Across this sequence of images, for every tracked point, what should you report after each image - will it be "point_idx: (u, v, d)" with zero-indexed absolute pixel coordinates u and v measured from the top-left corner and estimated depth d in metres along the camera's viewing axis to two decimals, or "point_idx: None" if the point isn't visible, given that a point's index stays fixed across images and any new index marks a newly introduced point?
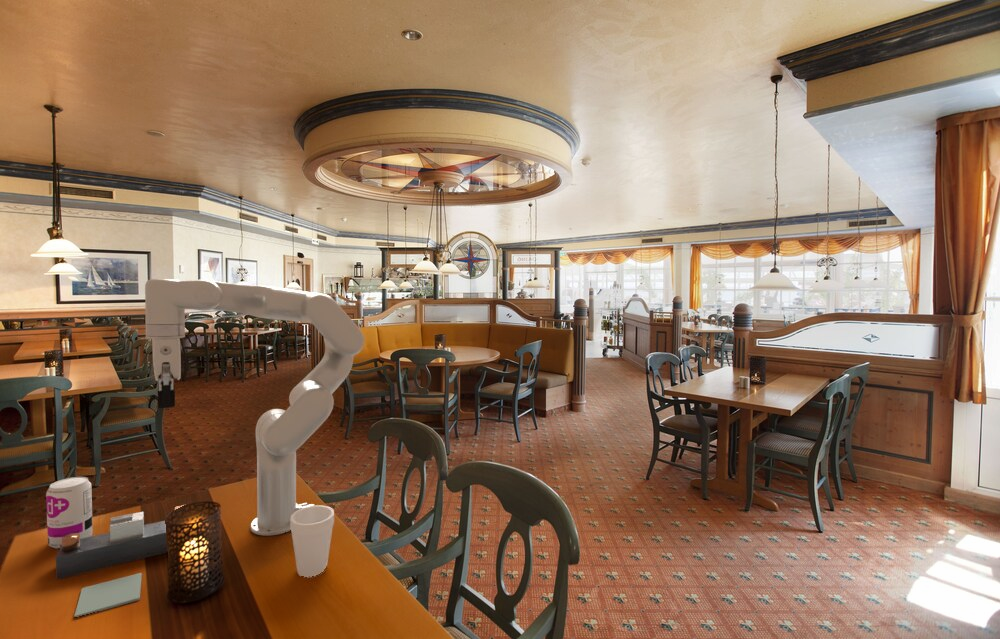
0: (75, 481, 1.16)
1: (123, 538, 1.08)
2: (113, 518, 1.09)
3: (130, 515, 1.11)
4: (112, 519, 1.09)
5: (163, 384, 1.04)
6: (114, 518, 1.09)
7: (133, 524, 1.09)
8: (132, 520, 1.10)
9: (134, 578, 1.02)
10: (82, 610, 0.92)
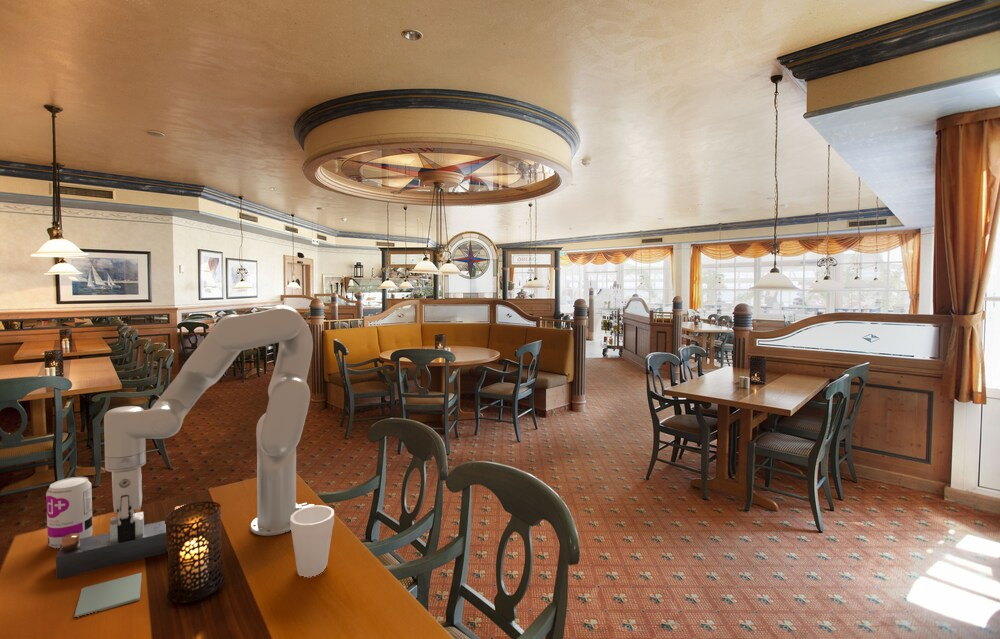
0: (75, 481, 1.16)
1: None
2: (113, 518, 1.09)
3: (130, 515, 1.11)
4: (112, 519, 1.09)
5: (122, 520, 1.06)
6: (114, 518, 1.09)
7: None
8: None
9: (134, 578, 1.02)
10: (82, 610, 0.92)
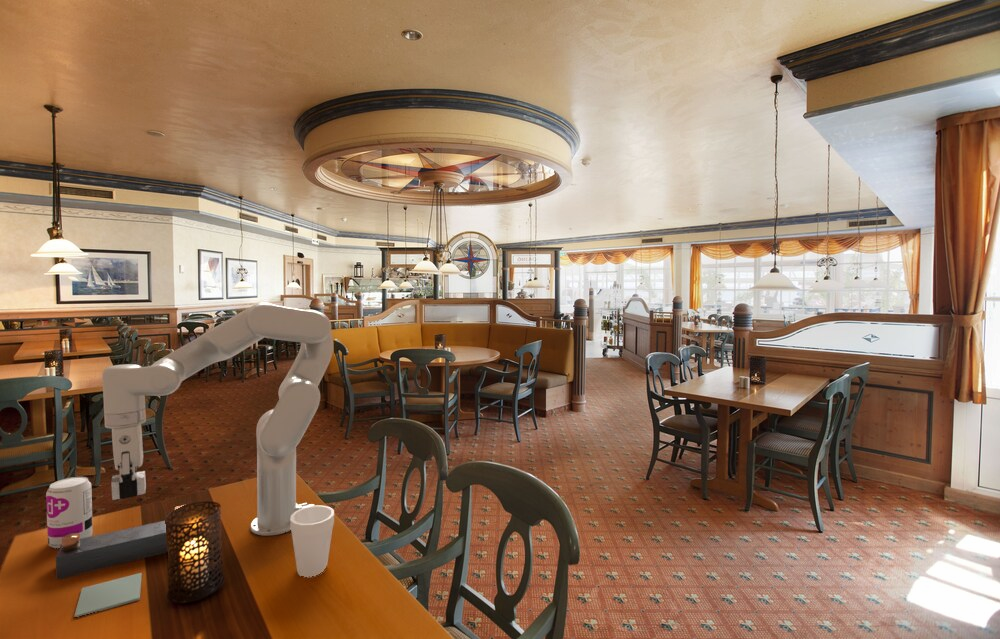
0: (75, 481, 1.16)
1: None
2: (114, 476, 1.09)
3: None
4: (113, 477, 1.08)
5: (123, 477, 1.05)
6: (115, 476, 1.08)
7: None
8: None
9: (134, 578, 1.02)
10: (82, 610, 0.92)
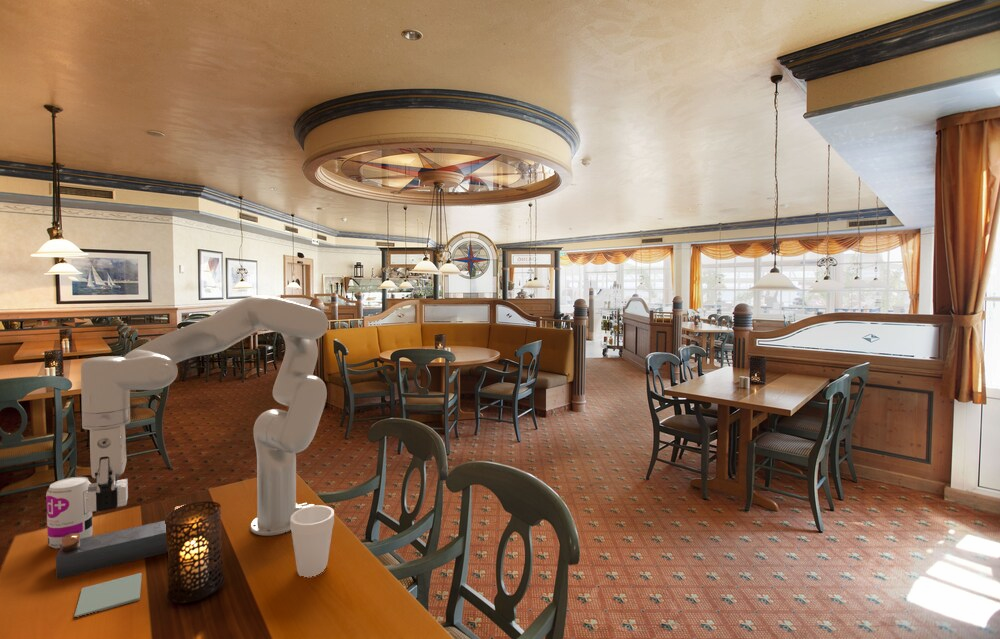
0: (75, 481, 1.16)
1: None
2: (91, 484, 0.94)
3: None
4: (90, 485, 0.94)
5: (101, 486, 0.91)
6: (92, 485, 0.94)
7: None
8: None
9: (134, 578, 1.02)
10: (82, 610, 0.92)
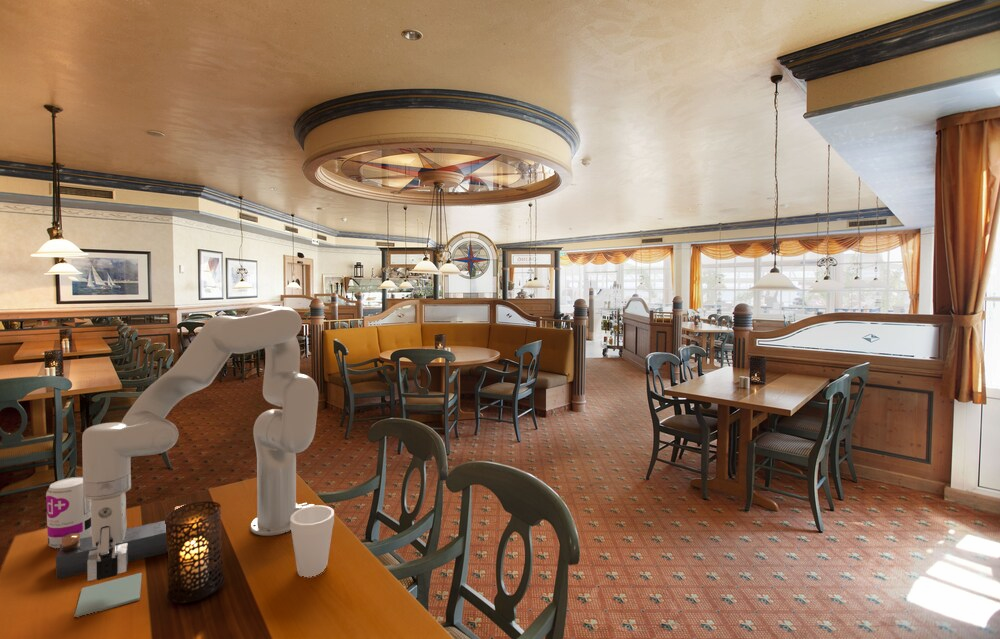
0: (75, 481, 1.16)
1: None
2: (91, 552, 0.95)
3: (111, 548, 0.96)
4: (90, 553, 0.94)
5: (102, 556, 0.91)
6: (92, 552, 0.95)
7: None
8: None
9: (134, 578, 1.02)
10: (82, 610, 0.92)
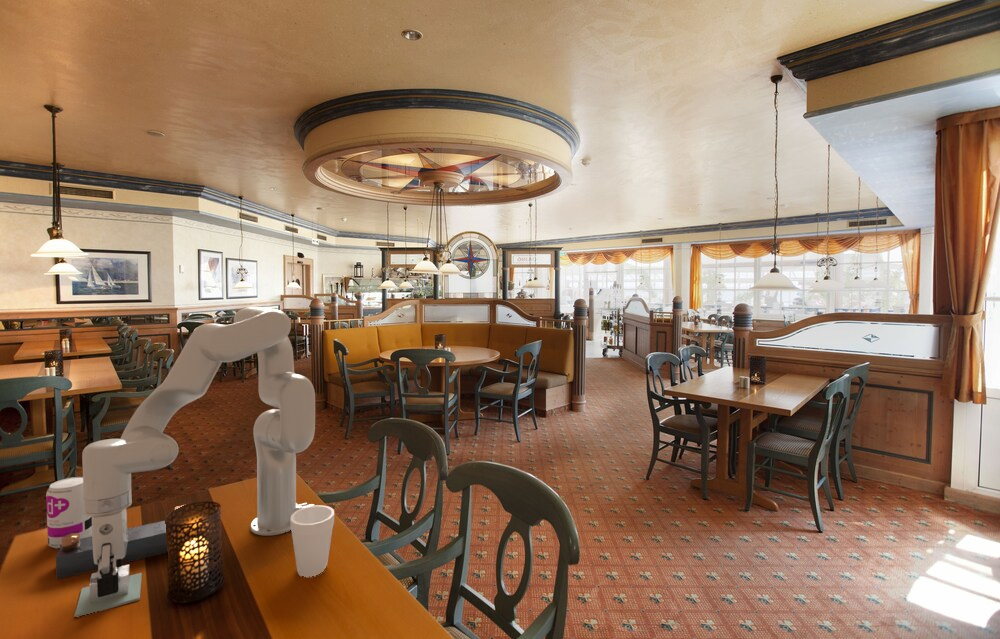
0: (75, 481, 1.16)
1: (105, 598, 0.95)
2: (94, 575, 0.95)
3: None
4: (92, 576, 0.95)
5: (102, 573, 0.91)
6: (94, 575, 0.95)
7: None
8: None
9: (134, 578, 1.02)
10: (82, 610, 0.92)
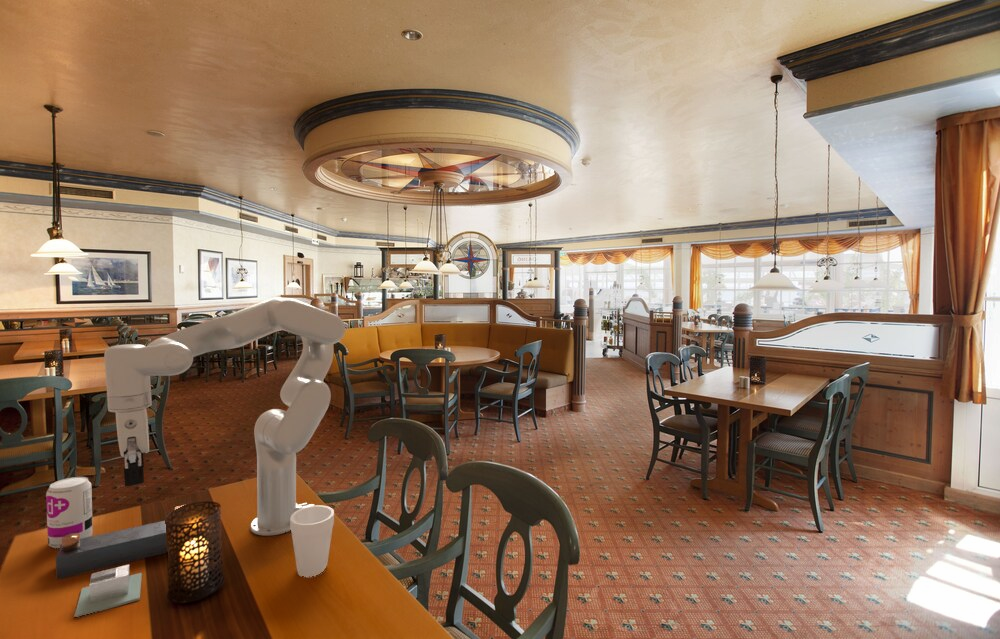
0: (75, 481, 1.16)
1: (105, 598, 0.95)
2: (94, 575, 0.95)
3: (113, 570, 0.97)
4: (92, 576, 0.95)
5: (129, 462, 0.96)
6: (94, 575, 0.95)
7: (117, 582, 0.96)
8: (116, 577, 0.96)
9: (134, 578, 1.02)
10: (82, 610, 0.92)
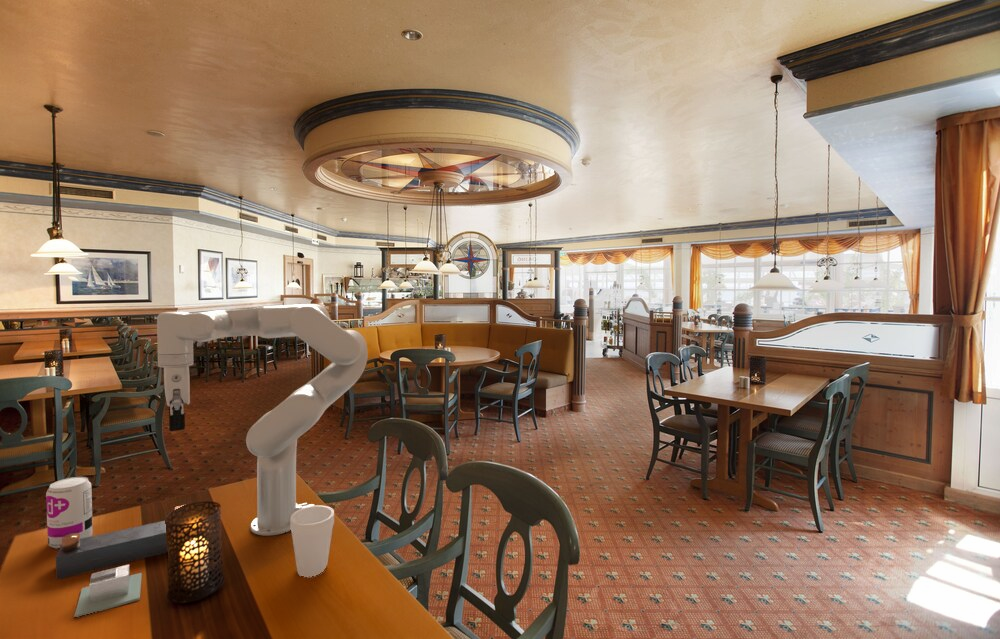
0: (75, 481, 1.16)
1: (105, 598, 0.95)
2: (94, 575, 0.95)
3: (113, 570, 0.97)
4: (92, 576, 0.95)
5: (174, 409, 1.14)
6: (94, 575, 0.95)
7: (117, 582, 0.96)
8: (116, 577, 0.96)
9: (134, 578, 1.02)
10: (82, 610, 0.92)
